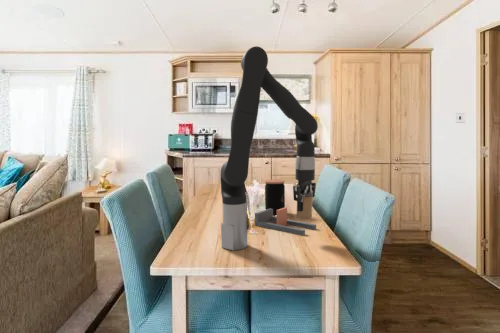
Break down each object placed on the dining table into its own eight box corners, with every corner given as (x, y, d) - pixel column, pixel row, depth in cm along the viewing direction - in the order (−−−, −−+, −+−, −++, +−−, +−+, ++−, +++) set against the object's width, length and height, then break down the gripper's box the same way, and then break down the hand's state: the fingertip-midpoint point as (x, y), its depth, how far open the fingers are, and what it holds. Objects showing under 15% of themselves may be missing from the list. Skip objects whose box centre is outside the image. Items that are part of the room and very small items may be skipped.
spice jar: (307, 220, 124) (307, 194, 123) (293, 217, 128) (293, 192, 127) (314, 217, 128) (315, 192, 128) (301, 214, 132) (301, 191, 132)
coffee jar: (285, 215, 170) (285, 182, 168) (265, 215, 170) (265, 182, 168) (283, 210, 180) (283, 179, 179) (265, 211, 180) (264, 179, 179)
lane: (316, 228, 145) (316, 215, 144) (302, 235, 136) (302, 221, 135) (269, 220, 161) (269, 208, 161) (255, 225, 152) (254, 213, 152)
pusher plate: (287, 224, 152) (287, 207, 151) (278, 227, 146) (278, 210, 146) (279, 222, 154) (279, 206, 154) (271, 226, 149) (271, 209, 148)
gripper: (306, 166, 134) (305, 205, 136) (287, 168, 123) (286, 211, 125) (322, 167, 129) (321, 208, 131) (304, 169, 118) (303, 214, 120)
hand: (304, 209), depth 128 cm, fingers closed on spice jar, 6 cm apart
